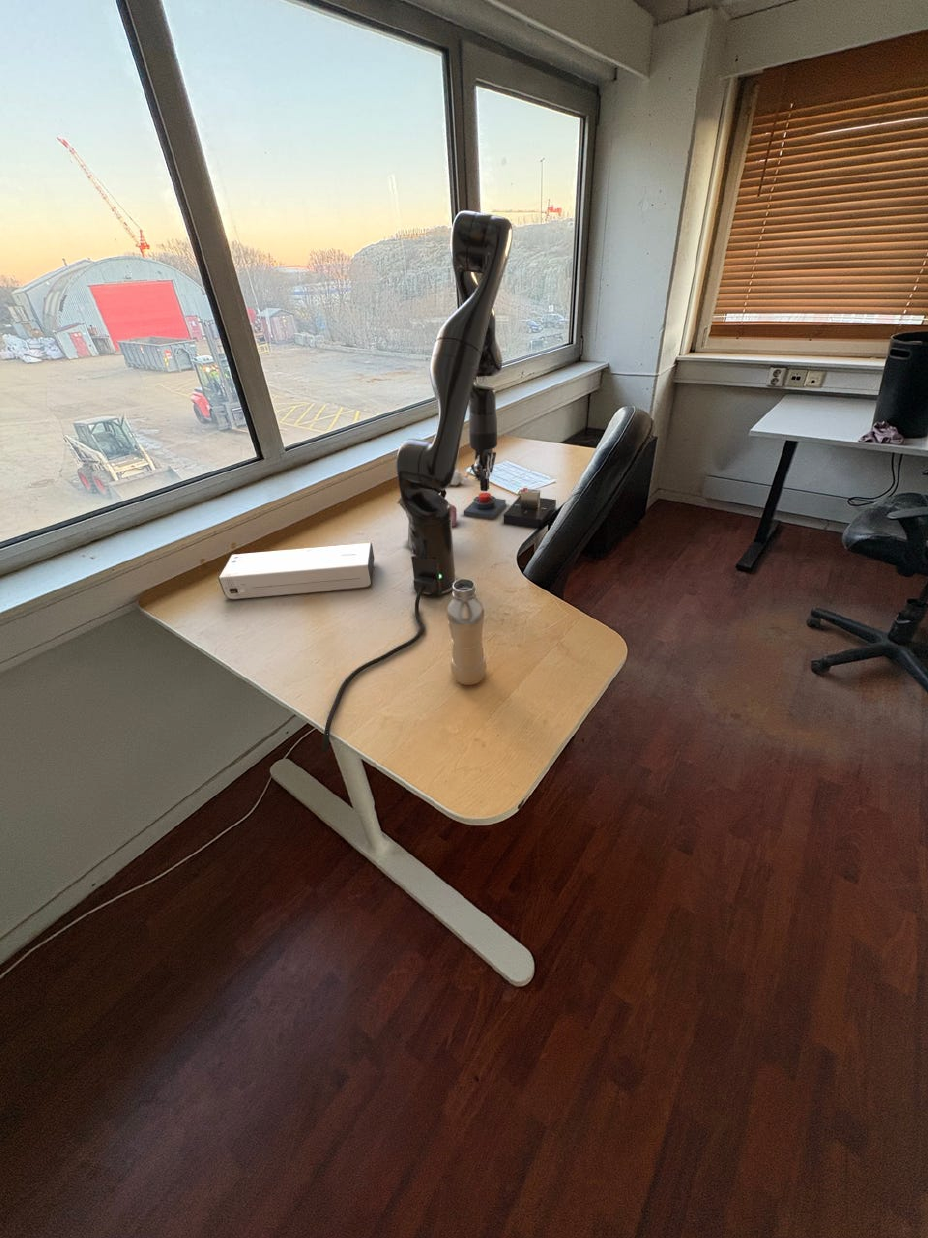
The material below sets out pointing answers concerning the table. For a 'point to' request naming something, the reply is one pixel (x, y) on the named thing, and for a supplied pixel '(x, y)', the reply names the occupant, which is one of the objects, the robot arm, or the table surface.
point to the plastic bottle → (466, 633)
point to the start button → (484, 497)
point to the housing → (485, 508)
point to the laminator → (298, 571)
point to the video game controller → (453, 514)
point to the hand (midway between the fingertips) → (484, 489)
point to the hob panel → (529, 514)
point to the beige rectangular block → (530, 498)
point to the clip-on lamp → (458, 477)
